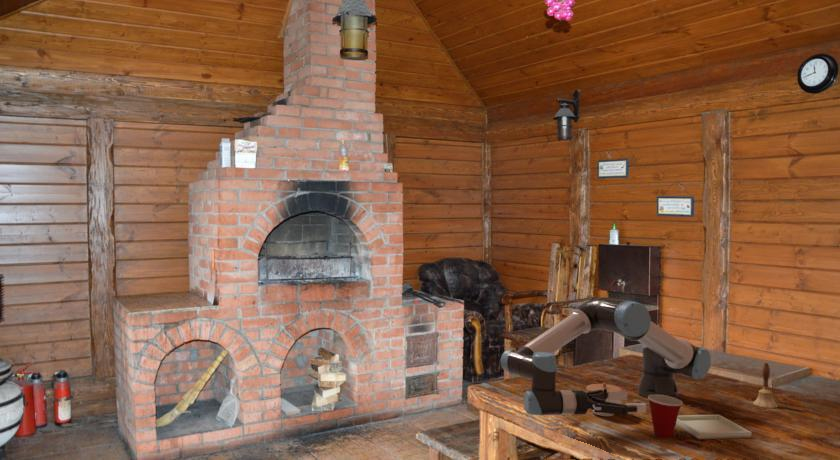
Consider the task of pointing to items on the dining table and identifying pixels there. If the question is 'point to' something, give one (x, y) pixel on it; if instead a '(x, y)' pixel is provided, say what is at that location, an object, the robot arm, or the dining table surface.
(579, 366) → the dining table surface
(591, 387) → the lidded bowl
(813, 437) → the dining table surface
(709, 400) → the dining table surface
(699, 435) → the tray
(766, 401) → the hand bell
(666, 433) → the plastic cup
